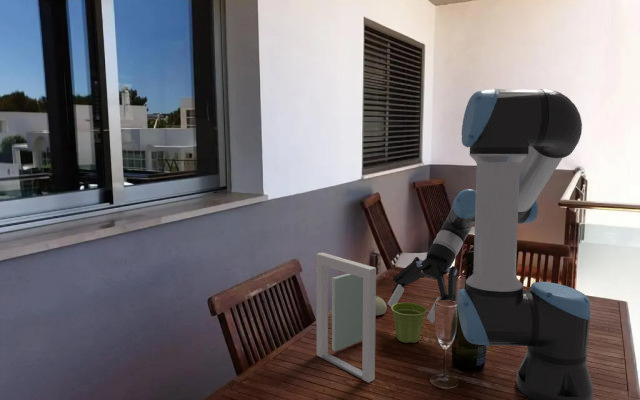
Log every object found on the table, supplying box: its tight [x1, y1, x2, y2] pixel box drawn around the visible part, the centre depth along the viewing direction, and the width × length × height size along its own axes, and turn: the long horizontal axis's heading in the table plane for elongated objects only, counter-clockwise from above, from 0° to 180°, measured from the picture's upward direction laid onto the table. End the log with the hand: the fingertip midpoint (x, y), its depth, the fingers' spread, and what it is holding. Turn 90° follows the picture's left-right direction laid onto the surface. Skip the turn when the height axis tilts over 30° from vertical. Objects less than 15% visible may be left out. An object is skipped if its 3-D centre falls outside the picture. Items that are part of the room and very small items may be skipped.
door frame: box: [315, 252, 377, 383], centre depth 118 cm, size 18×2×26 cm, turn 41°
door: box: [331, 273, 363, 352], centre depth 130 cm, size 13×3×19 cm, turn 131°
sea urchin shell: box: [376, 295, 388, 316], centre depth 155 cm, size 9×8×8 cm
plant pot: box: [390, 302, 428, 344], centre depth 135 cm, size 9×9×9 cm
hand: (409, 313), depth 136 cm, fingers open, 13 cm apart
